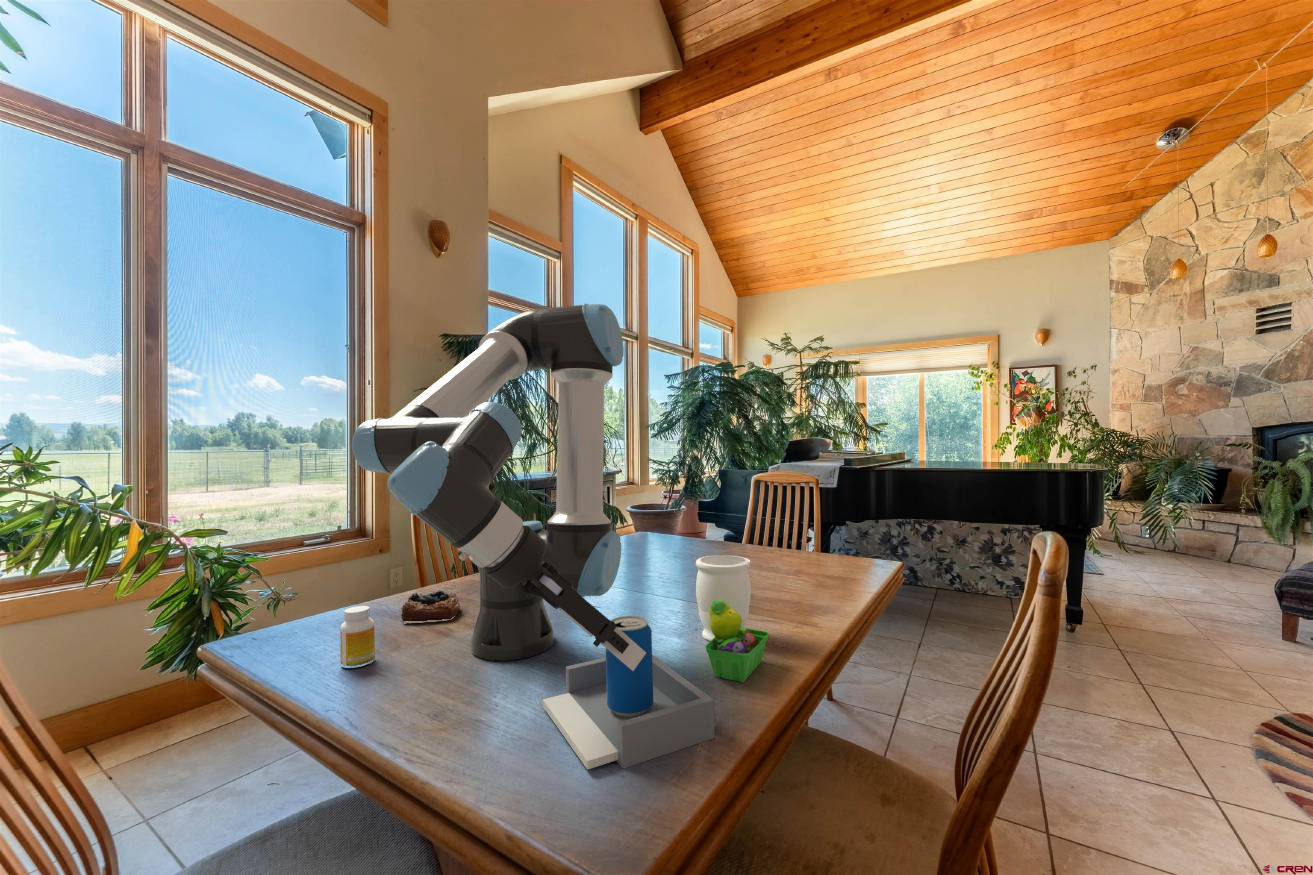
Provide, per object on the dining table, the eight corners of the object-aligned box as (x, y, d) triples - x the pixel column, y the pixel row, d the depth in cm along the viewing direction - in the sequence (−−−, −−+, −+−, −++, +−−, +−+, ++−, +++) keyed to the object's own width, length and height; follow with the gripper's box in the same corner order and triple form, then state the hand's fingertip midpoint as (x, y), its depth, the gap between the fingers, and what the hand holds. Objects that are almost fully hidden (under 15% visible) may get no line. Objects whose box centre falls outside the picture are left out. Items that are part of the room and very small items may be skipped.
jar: (749, 627, 113) (748, 554, 113) (753, 647, 103) (752, 566, 102) (697, 626, 114) (696, 554, 114) (696, 645, 104) (694, 566, 104)
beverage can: (606, 698, 80) (604, 616, 80) (651, 695, 81) (649, 613, 81) (607, 721, 74) (605, 631, 74) (655, 717, 74) (653, 628, 74)
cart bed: (540, 706, 81) (539, 672, 81) (644, 679, 90) (643, 648, 90) (591, 779, 64) (590, 736, 64) (714, 737, 72) (713, 699, 72)
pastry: (409, 611, 128) (408, 586, 128) (463, 607, 131) (463, 582, 131) (397, 627, 117) (396, 599, 117) (456, 622, 120) (455, 595, 120)
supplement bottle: (382, 660, 100) (380, 606, 99) (354, 671, 95) (353, 615, 95) (361, 655, 102) (360, 602, 102) (333, 666, 97) (332, 611, 97)
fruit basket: (748, 687, 86) (747, 615, 86) (697, 676, 91) (695, 607, 91) (771, 661, 96) (769, 596, 96) (723, 652, 101) (722, 590, 101)
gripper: (463, 551, 78) (566, 637, 85) (507, 595, 56) (640, 706, 63) (501, 511, 80) (597, 598, 88) (557, 538, 59) (679, 650, 66)
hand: (616, 643), depth 76 cm, fingers open, 13 cm apart
